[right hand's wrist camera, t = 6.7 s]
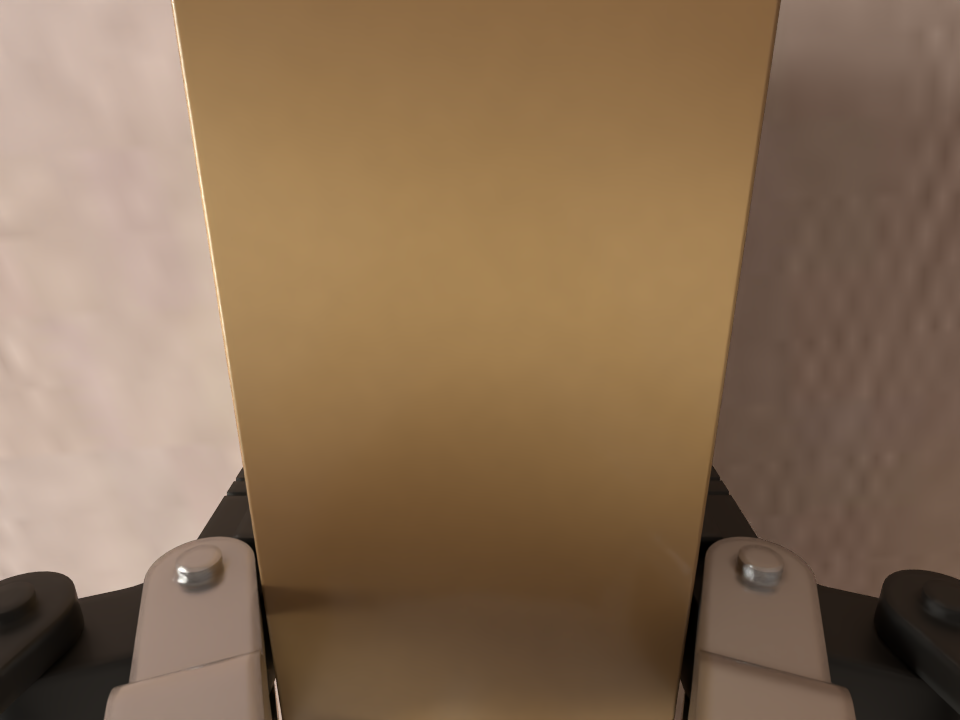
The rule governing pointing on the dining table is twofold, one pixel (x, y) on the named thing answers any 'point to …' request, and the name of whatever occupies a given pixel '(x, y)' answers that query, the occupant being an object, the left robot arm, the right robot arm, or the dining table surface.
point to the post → (476, 333)
